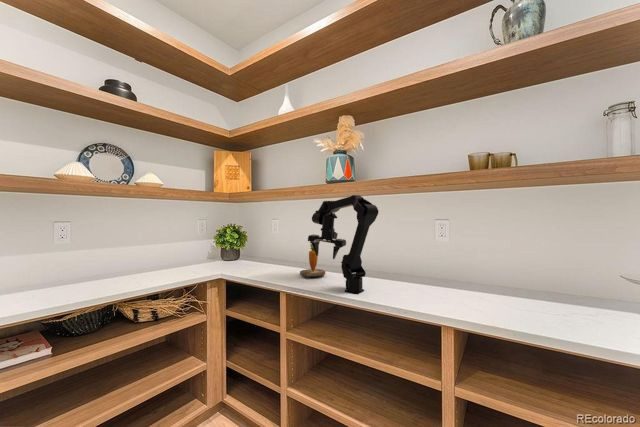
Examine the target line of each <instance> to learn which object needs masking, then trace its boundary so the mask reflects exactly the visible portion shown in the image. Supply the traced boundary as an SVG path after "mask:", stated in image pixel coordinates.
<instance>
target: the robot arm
mask: <svg viewBox="0 0 640 427" xmlns="http://www.w3.org/2000/svg"><path fill="white" fill-rule="evenodd" d="M348 207H353V210H354V212H356V220H357V226H356V229H355V233H354V236H353V239H352V243H351V245H350V250H349V252H348V254H343V256H342V260H341V265H340V266H341V270H342V271H341V272H342V275H343V279H345V290H344V292H345V293H350V294H356V295H357V294H358V295H359V294H361V293H363V292H364V291H365V289H364V288H363V278H364V277H366V274H367V273H366V271H365V269H364V268H363V266H362V263H363V261H362V257H361V256H362V252H363V248H364V245H365V242H366V239H367V236H368V233H369V229H370V227H371V226H372V225H373V223H374V222H375V221H376V219H377V217H378V215H379V209H378V207H377V205H375V204H373V203H372V202H371V201H369V200H367V199H365V198H364V197H363V196H362V195H360V194H359V195H358V194H352V195H351V196H348V197H344V198H340V199H337V200H324V201H322V204H320V207H319V208H318V209H317V210H315V211H314V213H313V214H312V216H311V221H312V222H313V224H317V225H321V228H320V231H321V234H320V235H321V236H320V235H319V234H315V233H313V234H310V235H308V237H307V241H308V242H309V244H312V246H313V248H314V250H315V253H316V256H319V250H320V249H319V248H320V247H319V246H320V243H321V242H324V243H329V244H333V245H334V246H333V251H332V260H335V259H336V256H337V255H338V252H339V250H340V249H341V248H343V247H345V246H347V241H346V239H345V238H338V235H339V234H338V232H336V230H335V228H334V227H335V219H338V216H337V215H336V213H337V212H339V211H340V210H341V209H345V208H348Z"/></svg>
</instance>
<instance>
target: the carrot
mask: <svg viewBox="0 0 640 427" xmlns="http://www.w3.org/2000/svg"><path fill="white" fill-rule="evenodd" d="M309 246H310V247H309V248H310V249H311V250H310V251H308V261H309V262H308V263H309V266H310V269H312V271H314V270H315V269H317V264H318V256H319V255H318V256H316V253H315V250H314V248H313V246H312V244H311V243H309Z"/></svg>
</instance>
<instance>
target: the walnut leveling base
mask: <svg viewBox="0 0 640 427" xmlns="http://www.w3.org/2000/svg"><path fill="white" fill-rule="evenodd" d="M299 275H300V276H304V279H311V277H318V278H323V277H324V275H326V270H324V269H317V268H315V270H314V271H312V269H311V268H307V269H302V270H299Z"/></svg>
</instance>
